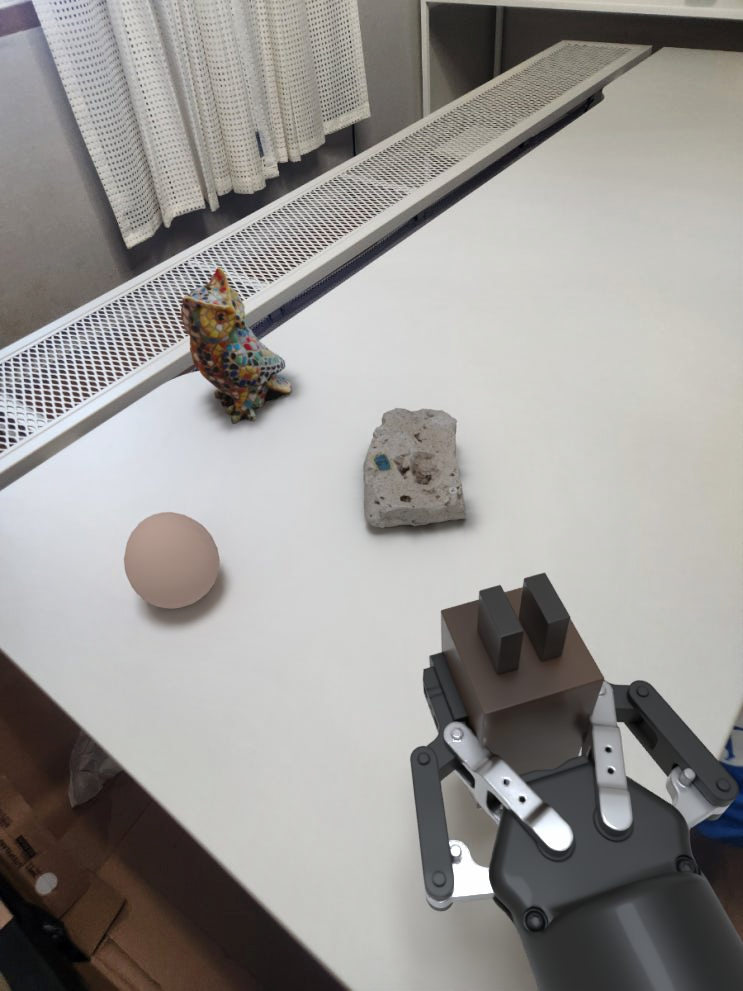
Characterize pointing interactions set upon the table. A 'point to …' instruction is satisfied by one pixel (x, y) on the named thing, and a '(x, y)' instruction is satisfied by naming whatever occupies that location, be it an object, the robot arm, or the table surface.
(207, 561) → the egg
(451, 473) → the stone
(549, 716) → the knife block
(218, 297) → the figurine
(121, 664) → the table surface
